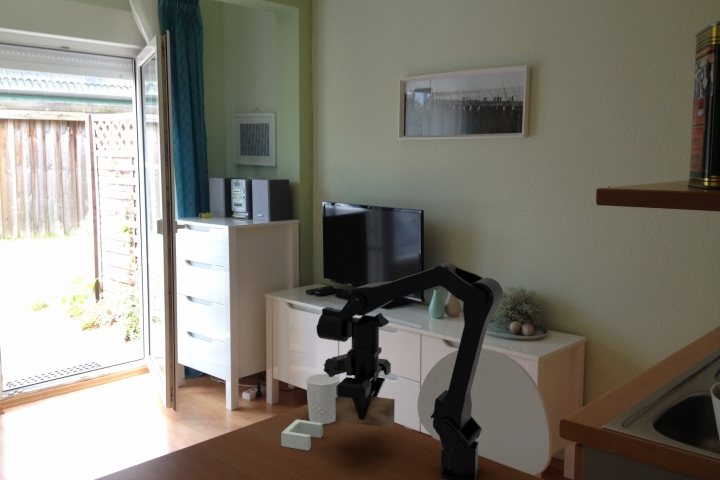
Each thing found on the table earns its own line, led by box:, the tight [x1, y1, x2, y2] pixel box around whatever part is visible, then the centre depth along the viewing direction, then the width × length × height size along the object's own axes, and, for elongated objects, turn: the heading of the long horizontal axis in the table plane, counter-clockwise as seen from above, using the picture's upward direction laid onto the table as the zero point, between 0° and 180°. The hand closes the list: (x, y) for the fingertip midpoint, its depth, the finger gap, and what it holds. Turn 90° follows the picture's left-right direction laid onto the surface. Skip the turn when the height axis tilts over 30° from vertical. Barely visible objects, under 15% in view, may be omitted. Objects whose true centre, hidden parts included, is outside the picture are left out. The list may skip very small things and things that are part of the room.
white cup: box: [306, 372, 341, 425], centre depth 155 cm, size 8×8×10 cm
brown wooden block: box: [335, 396, 396, 429], centre depth 137 cm, size 12×4×5 cm, turn 71°
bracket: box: [280, 419, 324, 451], centre depth 143 cm, size 6×8×3 cm
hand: (364, 416), depth 137 cm, fingers closed on brown wooden block, 3 cm apart
